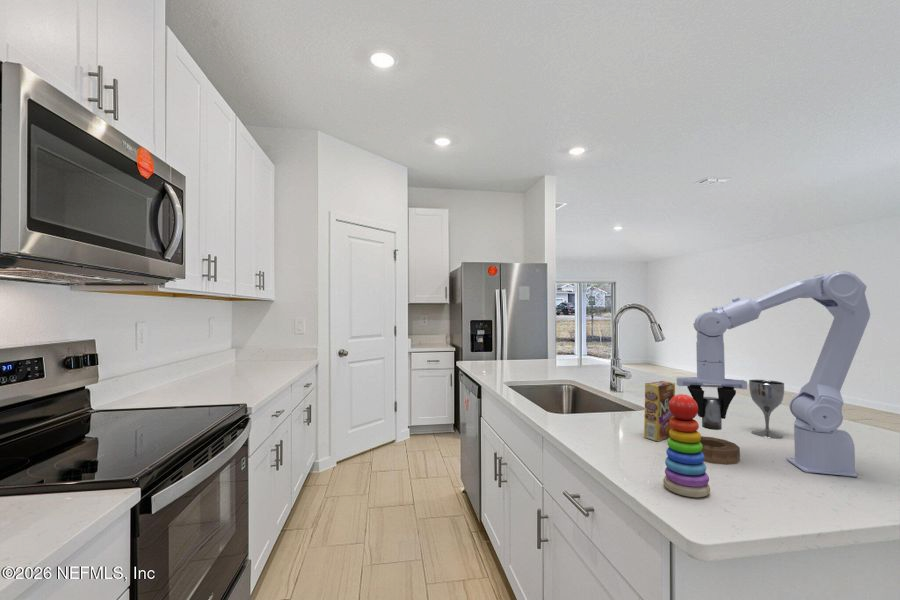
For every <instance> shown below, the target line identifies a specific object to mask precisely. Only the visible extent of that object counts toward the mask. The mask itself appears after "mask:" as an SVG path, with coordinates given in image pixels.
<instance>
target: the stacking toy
mask: <svg viewBox="0 0 900 600" xmlns="http://www.w3.org/2000/svg"><path fill="white" fill-rule="evenodd" d="M669 410H670V412H671V414H672V415H673V416H674V417H673V418H671V419H670V421H669V424H670V426H671V427H672V428H671V429H670V430H669V435H670V438H667V442H666V443H667V446H668V447H667V449H666V451H665V452H666V458H665V461H664V463H665V466H666V467H665V469H664V474H665V475H664V476H663V479H662V480H663V481H662V482H663V485H664V486H665V488H667V489H668V490H669V491H671V492H673V493H675V494H677V495H679V496H684V497H690V498H703V497H706V496H708V495H709V494H710V493H711V485H709V481H710V477H709V475H708V473H707V472H706V471H707V466H706V464H705V461H704V454H703V453H702V452H701V450H702V444H701V442H700V440H701V436H702V435H701V433H700V432H699V430H698V429H699V427H700V426H699V425H700V424H699V422H698V421H697V420H696V419H694V418H695V417H696V416H698V405H697V403H696V401H695V400H694V399H693V398H692V396H691V395H690V396H689V395H687V394H682V393H681V394H677V395H676V394H675V396H674V397H672V398H671V400H670V401H669Z"/></svg>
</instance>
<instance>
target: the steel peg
mask: <svg viewBox="0 0 900 600" xmlns="http://www.w3.org/2000/svg"><path fill="white" fill-rule="evenodd" d="M703 410H704V416H703V417H701V427H702V428H704V429H707V430H712V431H713V430H715V431H721V430H722V429H723V427H722V425H723V424H722V420H723V419H722V416H721V399H719V398H718V397H712V396H704V398H703Z"/></svg>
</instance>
